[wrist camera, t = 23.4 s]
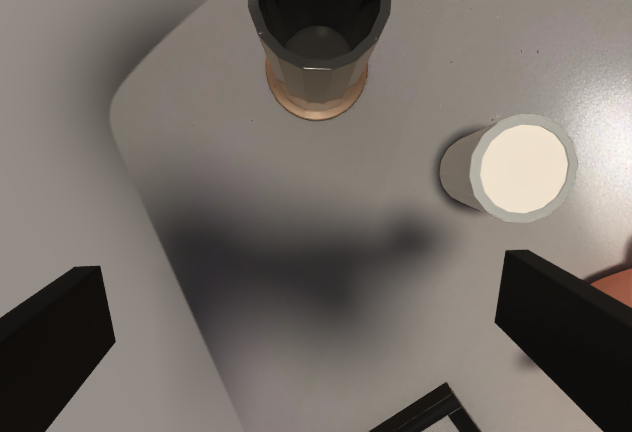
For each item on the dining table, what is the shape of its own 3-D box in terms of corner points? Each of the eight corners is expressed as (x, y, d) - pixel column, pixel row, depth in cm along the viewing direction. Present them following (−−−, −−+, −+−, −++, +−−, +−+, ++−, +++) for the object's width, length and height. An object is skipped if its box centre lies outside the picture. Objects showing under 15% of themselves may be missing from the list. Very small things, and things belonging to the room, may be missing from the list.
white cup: (469, 110, 28) (521, 89, 21) (531, 163, 28) (602, 159, 21) (414, 177, 28) (447, 179, 21) (476, 227, 29) (528, 245, 22)
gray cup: (261, 89, 27) (225, 31, 16) (296, 7, 26) (283, -112, 15) (337, 125, 27) (353, 93, 16) (373, 45, 26) (416, -44, 15)
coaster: (246, 56, 27) (244, 53, 26) (329, -6, 26) (329, -10, 26) (305, 140, 28) (304, 139, 27) (386, 82, 27) (387, 79, 27)
